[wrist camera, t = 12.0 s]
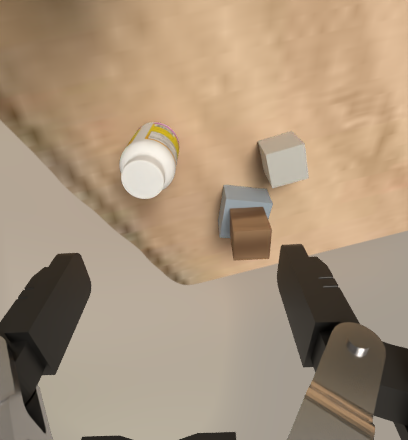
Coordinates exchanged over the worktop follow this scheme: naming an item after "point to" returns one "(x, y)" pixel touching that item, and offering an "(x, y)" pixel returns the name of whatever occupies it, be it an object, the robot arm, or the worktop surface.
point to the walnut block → (250, 233)
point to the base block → (240, 204)
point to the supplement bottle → (149, 160)
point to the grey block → (283, 159)
